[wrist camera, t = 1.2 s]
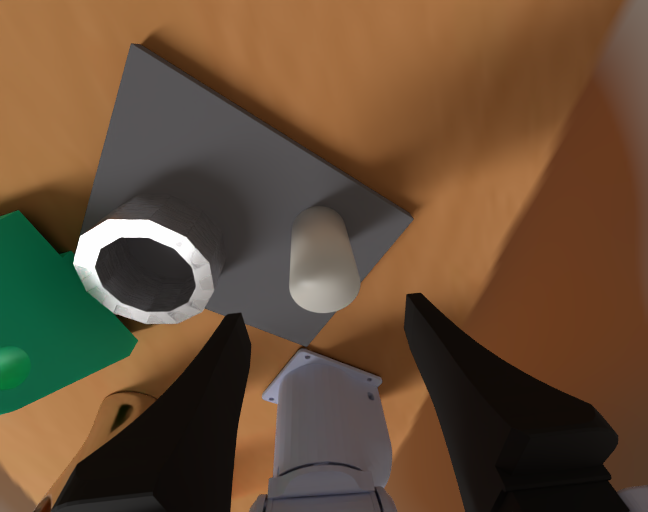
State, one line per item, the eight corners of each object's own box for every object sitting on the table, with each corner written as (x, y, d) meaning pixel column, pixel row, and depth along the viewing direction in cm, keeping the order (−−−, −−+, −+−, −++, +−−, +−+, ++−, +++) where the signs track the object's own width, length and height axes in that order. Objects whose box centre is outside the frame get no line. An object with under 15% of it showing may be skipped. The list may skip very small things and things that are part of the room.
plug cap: (356, 222, 21) (374, 275, 15) (326, 262, 22) (335, 321, 17) (309, 196, 19) (312, 244, 14) (282, 239, 21) (276, 296, 16)
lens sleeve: (242, 229, 20) (232, 257, 17) (201, 302, 23) (187, 338, 20) (126, 172, 18) (91, 194, 15) (97, 263, 21) (64, 296, 18)
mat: (409, 212, 22) (413, 219, 21) (306, 338, 27) (306, 347, 27) (140, 44, 16) (131, 43, 15) (82, 250, 21) (73, 258, 21)
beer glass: (151, 382, 29) (38, 629, 17) (182, 422, 33) (109, 648, 20) (81, 395, 29) (-83, 646, 17) (120, 433, 33) (9, 662, 21)
